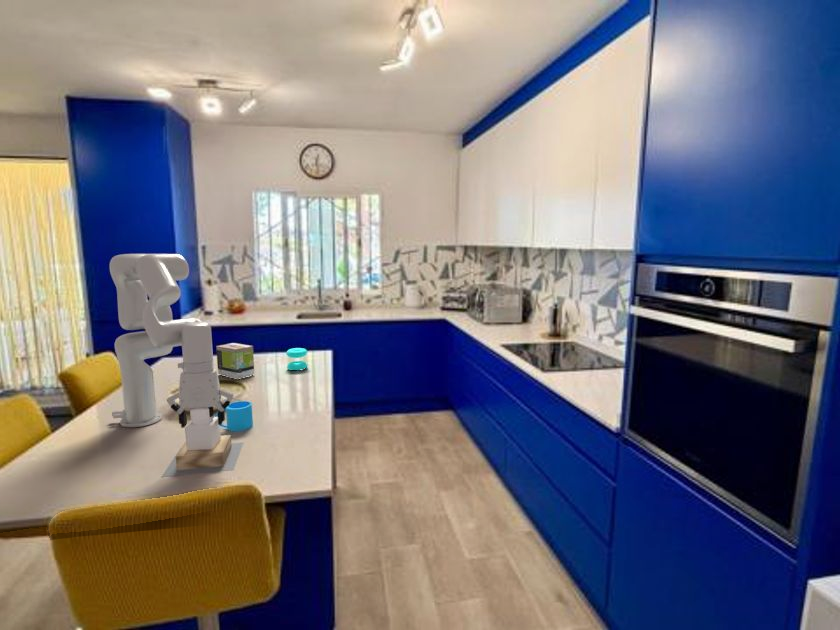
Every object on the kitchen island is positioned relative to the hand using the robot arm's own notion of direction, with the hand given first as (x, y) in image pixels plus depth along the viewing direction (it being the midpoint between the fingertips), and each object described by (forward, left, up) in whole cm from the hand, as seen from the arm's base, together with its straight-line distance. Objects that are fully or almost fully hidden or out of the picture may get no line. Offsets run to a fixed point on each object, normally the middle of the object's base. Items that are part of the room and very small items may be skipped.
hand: (202, 424), depth 129 cm
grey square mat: (0, 0, -11) cm, 11 cm away
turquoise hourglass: (+22, +96, -11) cm, 99 cm away
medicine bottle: (0, 0, -6) cm, 6 cm away
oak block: (0, 0, -10) cm, 10 cm away
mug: (+4, +23, -11) cm, 26 cm away
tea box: (-6, +90, -11) cm, 91 cm away
